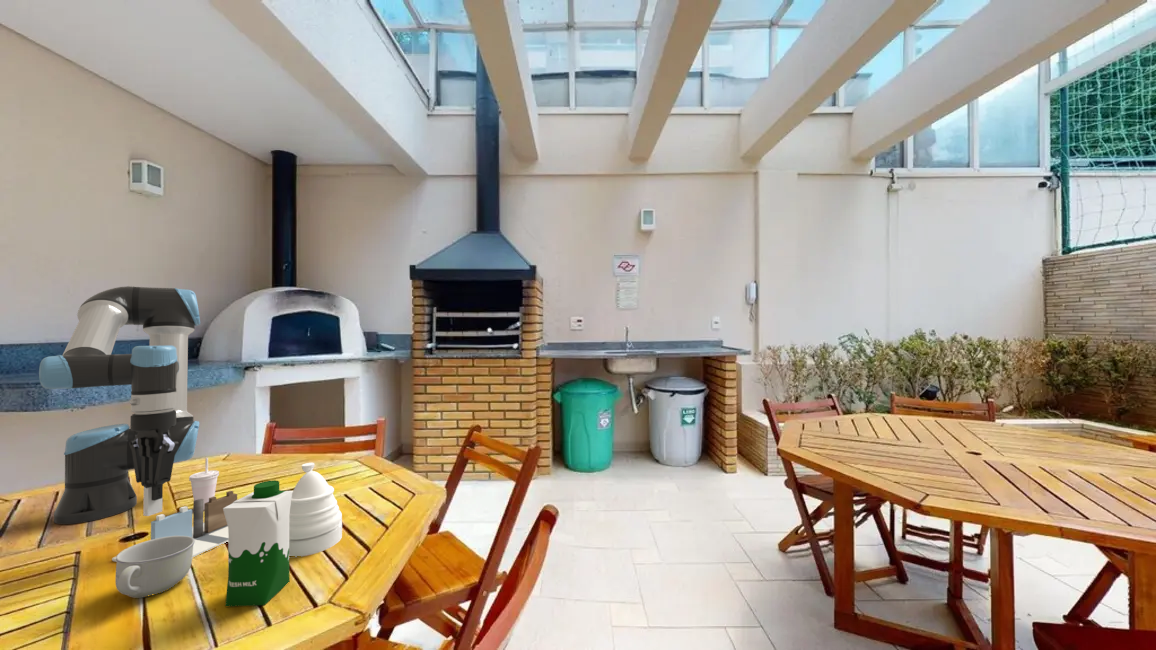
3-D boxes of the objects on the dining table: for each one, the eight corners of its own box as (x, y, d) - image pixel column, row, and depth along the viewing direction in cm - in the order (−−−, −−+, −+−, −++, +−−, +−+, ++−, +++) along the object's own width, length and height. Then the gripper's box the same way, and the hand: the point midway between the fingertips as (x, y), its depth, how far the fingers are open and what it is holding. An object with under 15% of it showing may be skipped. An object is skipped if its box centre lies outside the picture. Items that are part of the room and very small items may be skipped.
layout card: (112, 560, 91) (112, 557, 91) (219, 519, 111) (219, 516, 111) (161, 572, 87) (161, 569, 87) (263, 526, 107) (264, 524, 107)
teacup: (152, 573, 86) (152, 534, 86) (208, 570, 87) (208, 532, 87) (77, 619, 72) (77, 573, 72) (145, 615, 73) (145, 569, 73)
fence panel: (150, 553, 92) (151, 517, 93) (187, 538, 99) (188, 504, 99) (154, 554, 92) (155, 518, 92) (192, 539, 99) (192, 505, 99)
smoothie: (224, 505, 120) (224, 456, 121) (198, 514, 114) (198, 463, 115) (209, 502, 123) (210, 454, 123) (183, 511, 116) (183, 460, 117)
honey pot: (269, 544, 98) (270, 467, 98) (330, 524, 108) (330, 454, 108) (287, 563, 89) (287, 479, 90) (351, 540, 99) (351, 464, 100)
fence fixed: (191, 537, 100) (191, 501, 100) (232, 520, 109) (232, 487, 109) (196, 538, 100) (196, 502, 100) (237, 521, 108) (237, 488, 108)
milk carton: (297, 579, 84) (297, 479, 84) (265, 609, 75) (266, 496, 75) (251, 580, 83) (252, 480, 84) (214, 611, 74) (215, 498, 75)
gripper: (114, 413, 96) (113, 517, 95) (152, 415, 92) (151, 523, 91) (155, 407, 103) (154, 504, 102) (192, 409, 99) (191, 509, 99)
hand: (152, 513), depth 97 cm, fingers closed
